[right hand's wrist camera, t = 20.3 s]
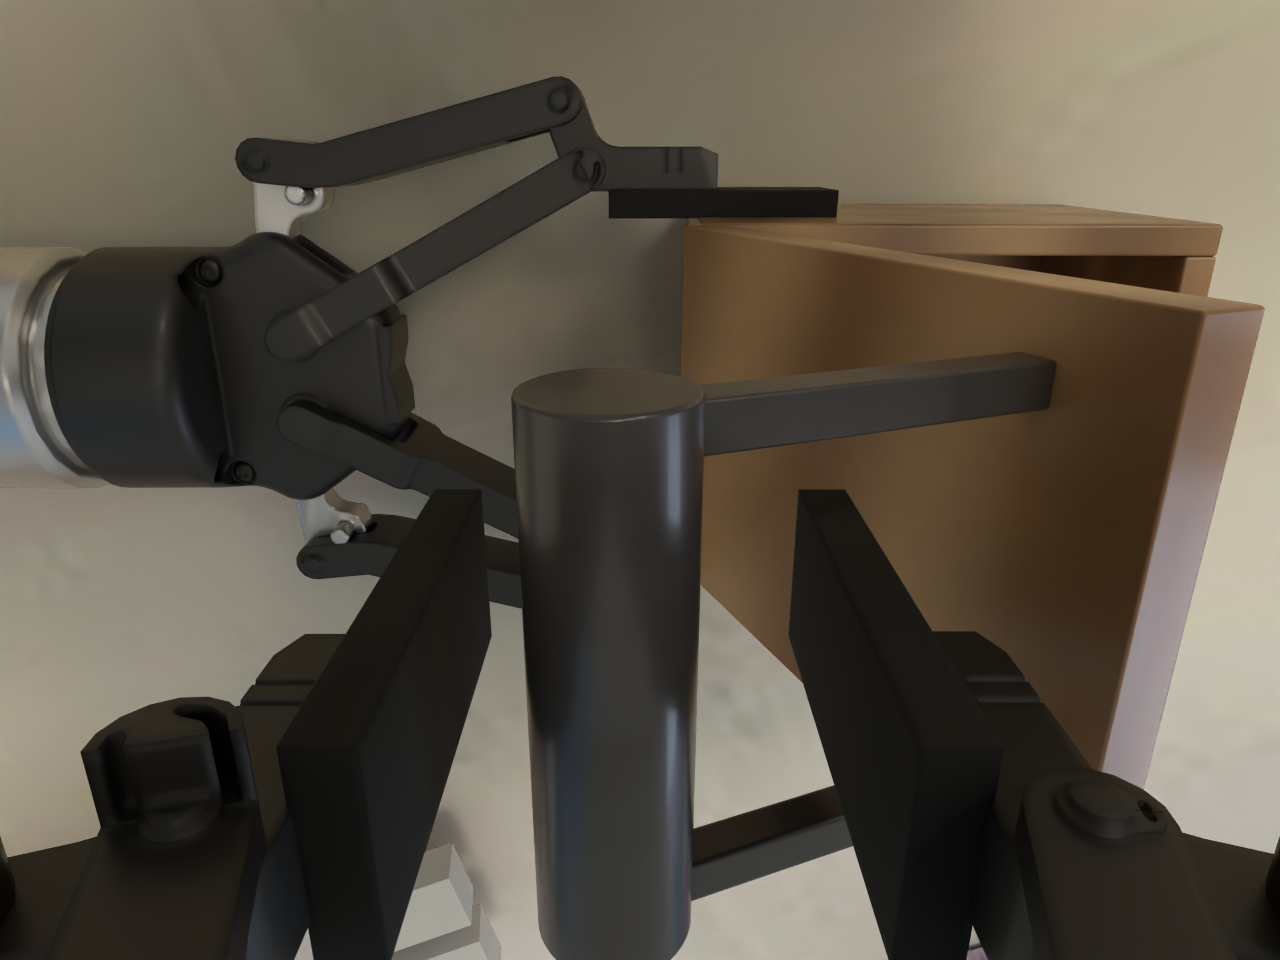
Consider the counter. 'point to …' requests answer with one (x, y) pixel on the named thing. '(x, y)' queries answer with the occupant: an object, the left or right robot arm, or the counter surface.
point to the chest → (1023, 239)
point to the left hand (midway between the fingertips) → (815, 368)
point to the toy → (440, 916)
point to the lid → (889, 504)
